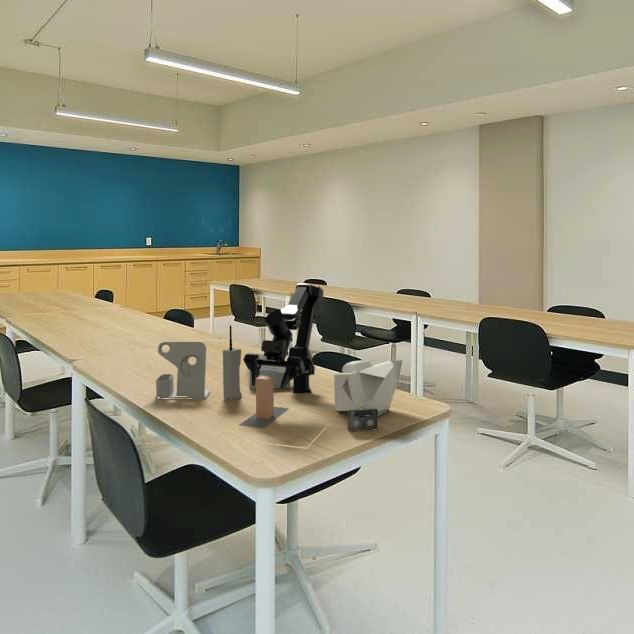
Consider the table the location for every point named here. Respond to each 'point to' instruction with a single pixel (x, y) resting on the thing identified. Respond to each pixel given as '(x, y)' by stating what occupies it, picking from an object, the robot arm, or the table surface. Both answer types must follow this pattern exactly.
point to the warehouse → (269, 373)
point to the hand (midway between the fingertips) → (266, 387)
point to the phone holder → (184, 371)
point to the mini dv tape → (362, 419)
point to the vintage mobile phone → (231, 372)
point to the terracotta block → (264, 397)
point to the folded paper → (366, 385)
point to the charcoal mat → (263, 422)
